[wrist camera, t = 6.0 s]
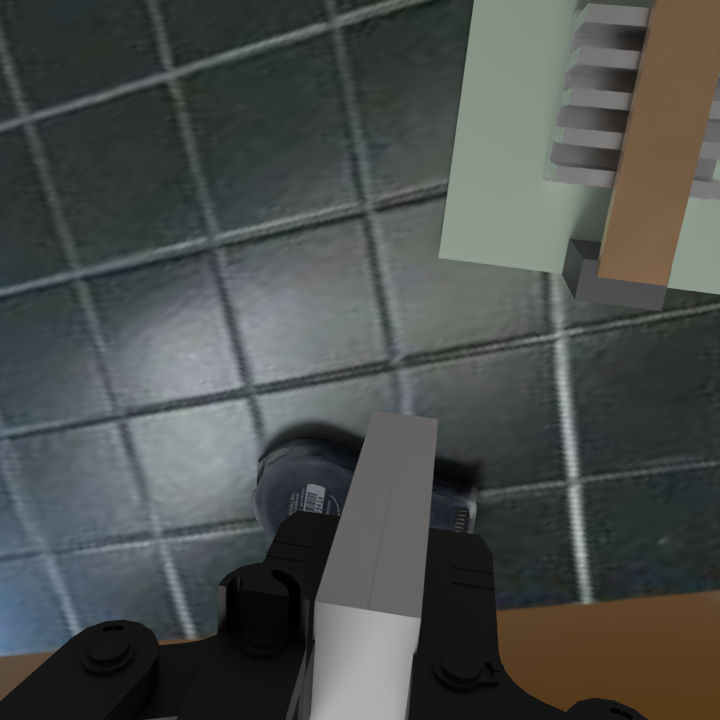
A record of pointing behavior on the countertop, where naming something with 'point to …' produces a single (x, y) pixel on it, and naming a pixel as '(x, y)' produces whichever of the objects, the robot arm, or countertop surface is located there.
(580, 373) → the countertop surface
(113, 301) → the countertop surface
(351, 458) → the electronic device
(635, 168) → the strap
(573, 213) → the board
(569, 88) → the heatsink
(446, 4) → the countertop surface
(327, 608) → the robot arm
